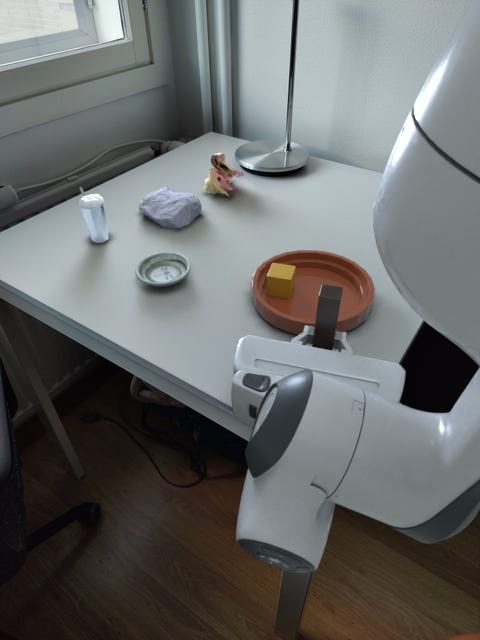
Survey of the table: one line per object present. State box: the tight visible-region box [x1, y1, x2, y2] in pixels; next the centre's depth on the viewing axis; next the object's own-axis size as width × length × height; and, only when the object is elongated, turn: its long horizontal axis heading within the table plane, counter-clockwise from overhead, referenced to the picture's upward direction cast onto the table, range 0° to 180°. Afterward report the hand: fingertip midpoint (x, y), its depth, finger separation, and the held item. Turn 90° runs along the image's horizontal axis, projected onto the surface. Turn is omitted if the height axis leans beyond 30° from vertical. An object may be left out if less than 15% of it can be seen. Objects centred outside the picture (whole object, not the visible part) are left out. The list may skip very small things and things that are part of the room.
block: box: [266, 263, 296, 299], centre depth 76 cm, size 4×4×4 cm
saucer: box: [134, 251, 192, 288], centre depth 81 cm, size 10×10×2 cm
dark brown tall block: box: [311, 284, 343, 351], centre depth 60 cm, size 4×4×14 cm
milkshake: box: [78, 186, 109, 244], centre depth 89 cm, size 5×5×10 cm
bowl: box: [251, 249, 376, 335], centre depth 76 cm, size 20×20×3 cm
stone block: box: [138, 186, 203, 230], centre depth 98 cm, size 12×5×10 cm
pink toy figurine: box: [203, 152, 245, 197], centre depth 106 cm, size 9×10×10 cm
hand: (325, 332), depth 61 cm, fingers closed on dark brown tall block, 2 cm apart
